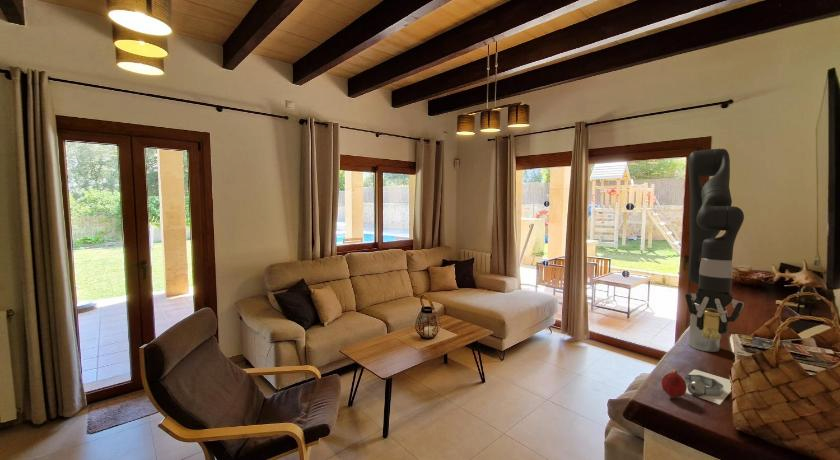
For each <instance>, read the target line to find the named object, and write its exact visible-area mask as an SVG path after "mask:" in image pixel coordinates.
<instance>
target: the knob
mask: <svg viewBox="0 0 840 460" xmlns="http://www.w3.org/2000/svg"><path fill="white" fill-rule="evenodd" d="M702 313H703V325H702V337H704V338H707V339H712V340H721V339H722V335H721V334H720V323H721V321H722V320H721V314H719V312H718V310H715V309H705V310H704V311H703V312H702Z"/></svg>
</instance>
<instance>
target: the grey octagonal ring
mask: <svg viewBox="0 0 840 460" xmlns="http://www.w3.org/2000/svg"><path fill="white" fill-rule="evenodd" d="M683 378H684V381H685V383H686V386H687V388H688V391H689V392H690V393H691V394H692V395H691V394H690V395H691V396H693V395H694V397H696V396H697V398H699V396H702V395H706V396H720V395H721V394H722V393H723V385H722V384H721V383H719V382H718V381H716V380H715V379H711V378H708V377H705V376H702V375H690V374H689V373H688V374H686V375H685V376H684V377H683ZM704 384H705V385H708V386H711V387H706V386H705V385H704Z"/></svg>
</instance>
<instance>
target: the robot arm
mask: <svg viewBox="0 0 840 460" xmlns="http://www.w3.org/2000/svg"><path fill="white" fill-rule="evenodd" d="M687 163H688V164H687V165H688V177H689V179H688V180H689V195H690V196H689V259H688V273H687V275H688V280H689V282H690V283H691V284H693V285H694V284H695V285H698V287H697V288H698V289H697V291H696V292H695V293H693V292H692V293H690V292H689V293H686V294H685V296H684V297H685V300H686V303H687V304H686V305H687V307H688V311H689V313H690V316H689V317H690V318H689V320H690V321H689V334H688V335H689V336H688V346H689V347H691V348H693V349H695V350H700V351H702V352H703V351H704V352H710V353H711V352H712V353H715V352H716V353H717V352H719V351H720V344H721V343H720V340H712V339H707V338H704V337H702V325H703V313H702V312H703V311H704V310H705V309H715V310H718V312H719V314H721V320H722V321H721V323H720V334H721V336H723V335H725V334H726V333H727V332H728V330H729V322H730V323H731V322H732V323H733V322H736V321H737V320H738V318H739V316H740V314H741V313H742V310H743V308H744V306H745V302H744V301H739V300H736V299H734V297H733V296H732V285H733V284H732V283H733V272H734V267H733V258H734V257H733V254H734V245H735V242H736V238H737V236H738V234H739V231H740V230H741V227H742V225H743V223H744V219H745V213H744V211H743V210H742V209H741V208H740V207H738V206H732V203H733V201H732V200H733V199H732V195H731V191H730V179H731V178H730V177H731V159H730V155H729V152H728V150H727V148H709V149H702V150H694V151H692V152H690V153H689V156H688V162H687ZM702 177H703V178H705V177H706V178H707V177H711V178H710V179H708V180H707V181H706V182H705V183H704V185H703V184H702V182H701V178H702ZM721 231H725V232H724V234H722V235H721V236H719V237H718V235H719V234H720V232H721ZM730 304H732V308H734V309H733V312H732V313H731V314H730V316H729V314H728V311H727V306H728V305H730Z"/></svg>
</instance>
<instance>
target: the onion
mask: <svg viewBox="0 0 840 460" xmlns="http://www.w3.org/2000/svg"><path fill="white" fill-rule="evenodd" d="M683 378H684V377H682V376H681V375H679V374H678V371H677V369H673V370H672V371H671V372H670V373H667V374H665V375H664V376H663V377H662V379H661V387H662V390H663V391H664V392H665V394H667V395H668V397H670V398H672V399H676V398H680V397H681V396H684V395H685V394H686V393H685V392H686V390H687V386H686V383H685V381H684V379H683Z"/></svg>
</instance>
